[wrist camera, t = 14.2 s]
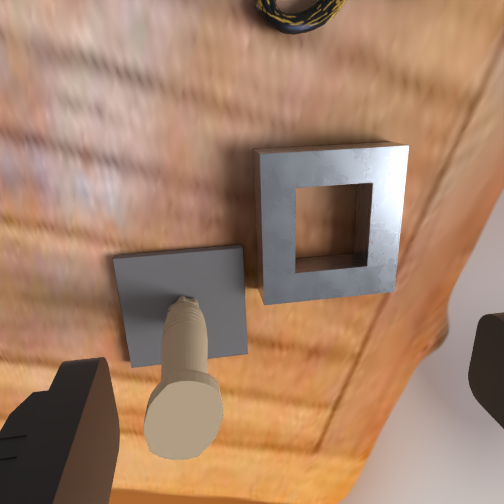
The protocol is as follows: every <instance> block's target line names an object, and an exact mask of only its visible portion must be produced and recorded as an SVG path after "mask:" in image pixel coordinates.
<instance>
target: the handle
mask: <svg viewBox="0 0 504 504" xmlns="http://www.w3.org/2000/svg"><path fill="white" fill-rule="evenodd" d="M207 355H208V337H207V329H206V323H205V319H204V316H203V313H202V311H201V310H200V308H199V304H198V301H197V300H196V299H195V298H193V299H189V298H186V297H184V296H181V297H179V299H178V300H177V302H175V303H174V304H172V305H170V307H169V309H168V312H167V317H166V321H165V325H164V329H163V336H162V370H161V382H160V383H159V384H158V385H157V386H156V388H155V389H154V390H153V392H152V393H151V395H150V398H149V401H148V405H147V409H146V414H145V420H144V435H145V439H146V442H147V445H148V447H149V450H150V452H152V453H153V454H155V455H157V456H159V457H162V458H165V459H172V460H186V459H191V458H194V457H197V456H199V455H200V454H201V453H202V452H203V451H204V450H205V449H206V448H207V447H208V446H209V445H210V444H211V443H212V442H213V441H214V439H215V438H216V436H217V434H218V431H219V428H220V425H221V422H222V418H223V404H222V398H221V393H220V389H219V385H218V381H217V380H216V379H215V378H214V377H212V376H211V375H209V374H207Z"/></svg>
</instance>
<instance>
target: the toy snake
mask: <svg viewBox="0 0 504 504" xmlns="http://www.w3.org/2000/svg"><path fill="white" fill-rule="evenodd" d="M345 1H346V0H319V1H318V2H317V3H316V5H314V6H313V7H311V8H309V9H308V10H306V11H303V12H300V13H296V14H286V13H283V12H281V11H280V10H279V9H278V7H277V5H276V0H255V3H256V8H257V11H258V14H259V15H260V16H261V17H262V18H263V19H264V20H265V21H266V22H267V23H268V24H269V25H270V26H271V27H273V28H275V29H276V30H278V31H280V32H282V33H286V34H299V33H306V32H310V31H312V30H314V29H316V28H318V27H320V26H322V25H324V24H325V23H327V22H328V21H329V20H331V19H332V18H333V17H334V16H335V14H336V13H337V12H338V11H339V10H340V8H341V7H342V5H343V4H344V2H345Z"/></svg>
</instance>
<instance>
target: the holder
mask: <svg viewBox="0 0 504 504" xmlns="http://www.w3.org/2000/svg"><path fill="white" fill-rule="evenodd" d="M408 150H409V145H404V144H399V143H394V142H374V143H355V144H337V145H319V146H301V147H283V148H265V149H253V151H254V180H255V210H256V239H257V269H258V290H259V293H260V295H261V298H262V301H263V303H264V305H271V304H281V303H290V302H300V301H310V300H319V299H329V298H339V297H348V296H358V295H367V294H377V293H387V292H394V289H395V279H396V269H397V260H398V250H399V240H400V230H401V220H402V210H403V200H404V190H405V180H406V170H407V160H408ZM345 184H357V198H356V215H355V232H354V249H353V253H352V254H341V255H330V256H319V257H307V258H296V259H295V188H301V187H315V186H330V185H345Z"/></svg>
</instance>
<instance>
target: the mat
mask: <svg viewBox="0 0 504 504" xmlns="http://www.w3.org/2000/svg"><path fill="white" fill-rule="evenodd" d="M113 263H114V269H115V275H116V281H117V286H118V292H119V298H120V304H121V310H122V315H123V321H124V327H125V333H126V339H127V344H128V350H129V356H130V362H131V368H134V367H143V366H151V365H160V364H162V336H163V329H164V325H165V321H166V317H167V312H168V309H169V307H170V305H172V304H174V303H175V302H177V300H178V299H179V297H181V296H184V297H186V298H189V299H193V298H195V299H196V300H197V301H198V304H199V308H200V310H201V311H202V313H203V316H204V319H205V323H206V329H207V337H208V355H207V359H210V358H219V357H227V356H236V355H244V354H248V349H247V327H246V306H245V285H244V264H243V247H242V245H229V246H217V247H205V248H194V249H182V250H170V251H158V252H146V253H134V254H123V255H114V258H113Z"/></svg>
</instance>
